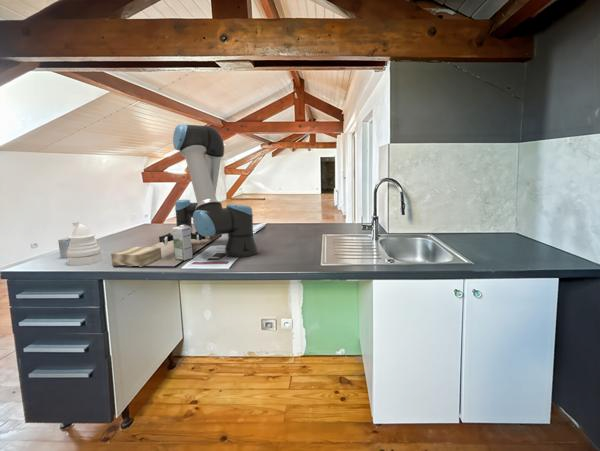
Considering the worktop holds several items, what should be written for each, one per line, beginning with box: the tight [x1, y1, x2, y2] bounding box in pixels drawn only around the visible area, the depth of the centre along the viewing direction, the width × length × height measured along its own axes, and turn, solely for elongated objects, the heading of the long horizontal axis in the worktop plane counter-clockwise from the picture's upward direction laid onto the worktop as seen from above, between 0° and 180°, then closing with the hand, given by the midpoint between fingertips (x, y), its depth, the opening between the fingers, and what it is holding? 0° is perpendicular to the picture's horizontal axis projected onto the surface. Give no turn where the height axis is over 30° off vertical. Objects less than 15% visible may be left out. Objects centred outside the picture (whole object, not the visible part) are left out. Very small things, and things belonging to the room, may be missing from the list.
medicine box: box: [57, 237, 70, 259], centre depth 168 cm, size 8×4×9 cm, turn 168°
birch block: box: [110, 246, 162, 268], centre depth 156 cm, size 14×14×5 cm
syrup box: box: [171, 226, 193, 261], centre depth 159 cm, size 6×6×14 cm
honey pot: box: [66, 221, 103, 266], centre depth 157 cm, size 13×13×18 cm
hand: (181, 241), depth 157 cm, fingers open, 13 cm apart
